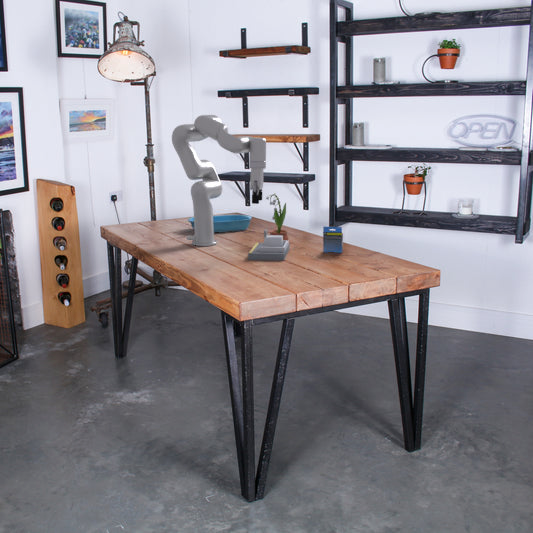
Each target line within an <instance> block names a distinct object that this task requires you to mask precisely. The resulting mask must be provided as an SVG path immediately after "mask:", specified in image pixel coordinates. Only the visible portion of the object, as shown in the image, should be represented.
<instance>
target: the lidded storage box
mask: <svg viewBox="0 0 533 533" xmlns="http://www.w3.org/2000/svg"><path fill="white" fill-rule="evenodd" d="M263 233H264V235H263V237H264V238H263V239H264V240H263V243H264V247H282V246H283V235H270V234H268V228H265V229H264V230H263Z"/></svg>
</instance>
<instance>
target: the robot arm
mask: <svg viewBox="0 0 533 533" xmlns="http://www.w3.org/2000/svg"><path fill="white" fill-rule="evenodd" d="M208 138H210V139H213V140H215V141H216V142H217V144H218V145H219V146H220V147H221V148H222V149H224V150H226V151H228V152H230V153H232V154H247V153H249V169H250V180H249V182H250V183H249V190H251V191H252V192H251V204H253V205H255V204H256V205H257V204H258V205H259V204H260V201H263V188H264V170H265V169H266V168H267V139H266V138H264V137H256V136H255V137H253V136H249V135H246V136H245V135H243V136H235V135H232V134H231V133H229V128H228V126H227V125H226V124H225V123H222V120H221V118H220V117H219V116H217V115H215V114H203V115H198V116H197V117H196V118H195V120H194V123H185V124H179V125H177V126H176V127H175V128H173V130H172V134H171V142H172V147H173V148H174V150H175V152H176V154H177V156H178V158H179V160H180V163H181V165H182V168H183V169H184V172H185V174H186V177H187V178H188V180H192V181H196V182H194V183H193V184H192V185H191V188H190V197H191V200H192V206H193V217H194V234H193V235H186V240H188V241H192V242H191V245H193V246H195V245H196V246H197V247H209V246H210V247H211V246H215V245H217V244H218V240H217V239H215V237H214V236H215V235H214V234H215V233H214V228H213V216H214V208H213V205H212V203H211V200H212V199H216V198H219V197H220V196H221V195H222V193H223V184H222V182H221V179H220V177H219V175H218V173H217V171H216V170H217V169H216V168H215V165H214V164H213V163H212V162H211V160H207V159H199V157H198V155H197V152H196V150H195V149H194V147H192V145H191V144H190V143H189V142H191V143H193V142H200V141H203V140H206V139H208Z"/></svg>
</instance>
